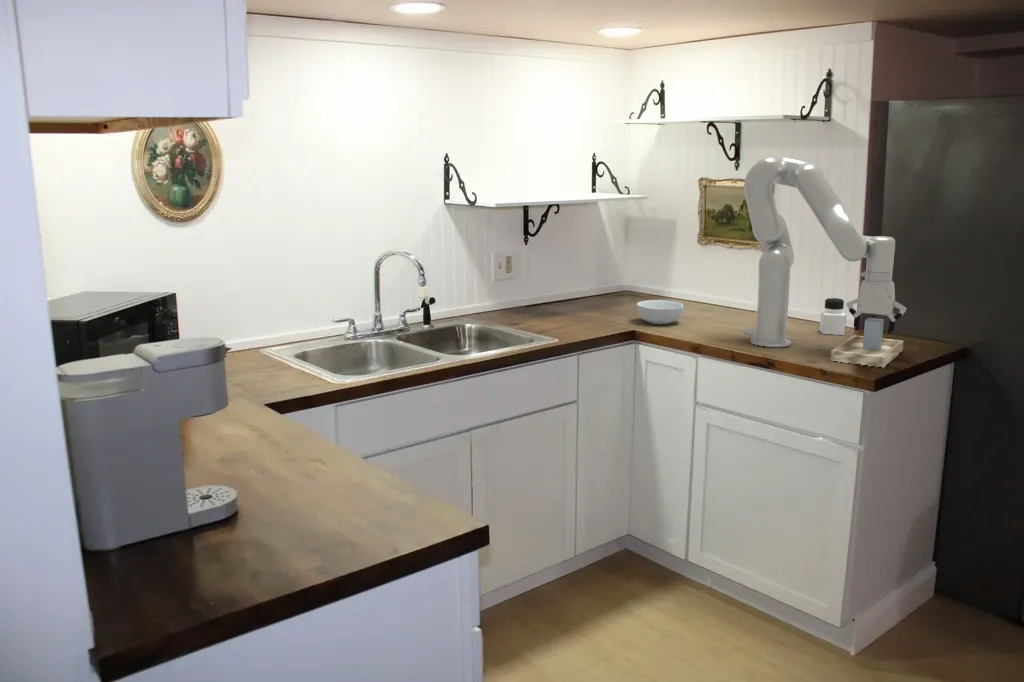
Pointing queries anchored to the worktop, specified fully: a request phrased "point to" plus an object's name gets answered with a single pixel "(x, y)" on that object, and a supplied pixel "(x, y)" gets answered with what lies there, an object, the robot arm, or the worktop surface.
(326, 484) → the worktop surface
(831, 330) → the medicine bottle
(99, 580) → the worktop surface
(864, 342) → the block
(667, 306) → the cereal bowl
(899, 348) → the tray
